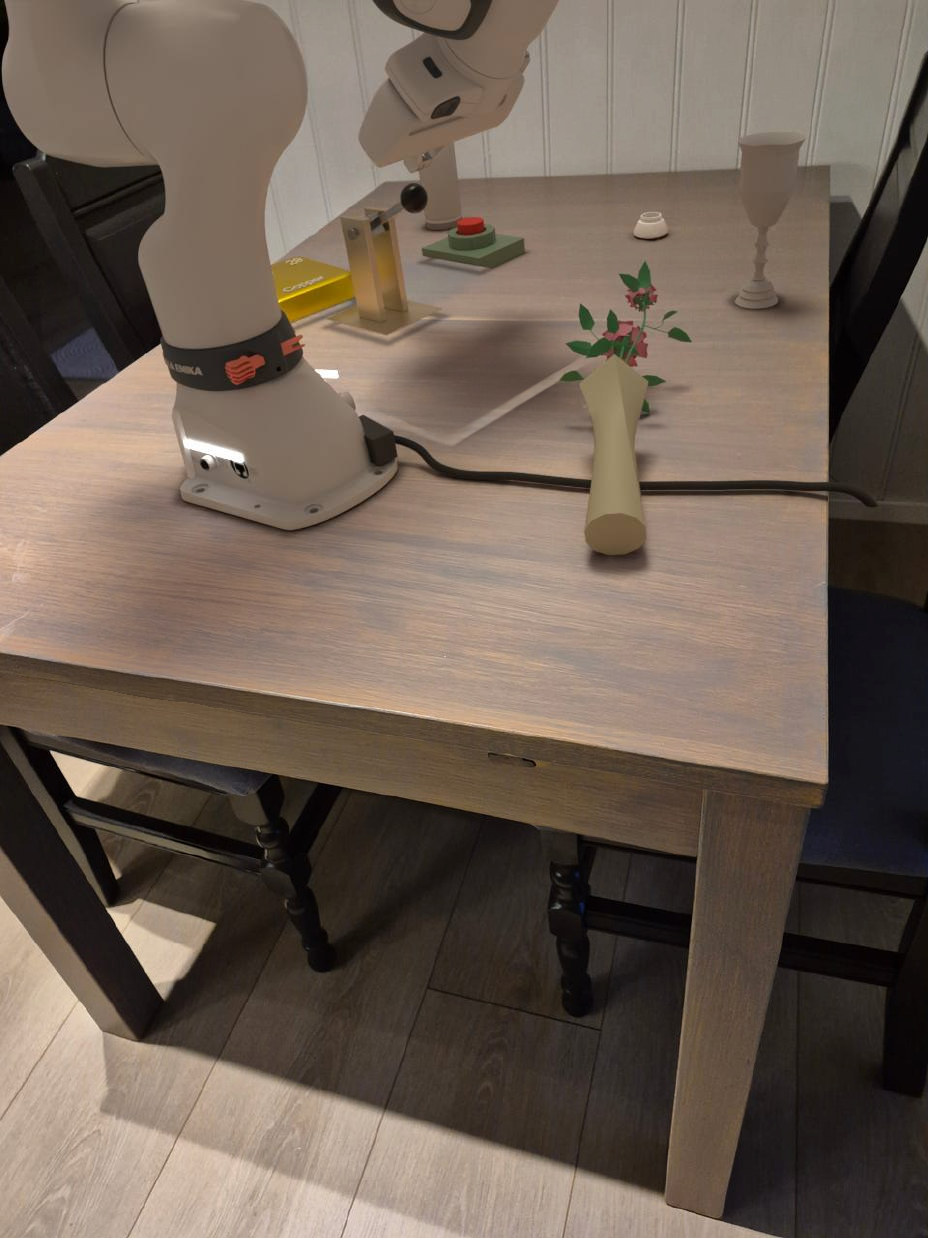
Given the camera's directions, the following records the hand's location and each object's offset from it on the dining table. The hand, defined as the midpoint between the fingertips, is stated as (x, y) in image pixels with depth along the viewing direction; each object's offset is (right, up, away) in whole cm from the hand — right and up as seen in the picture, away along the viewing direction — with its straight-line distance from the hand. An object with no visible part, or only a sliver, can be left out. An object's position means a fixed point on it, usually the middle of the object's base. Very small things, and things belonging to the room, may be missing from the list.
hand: (416, 165), depth 100 cm
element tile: (-19, -7, +27) cm, 34 cm away
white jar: (+34, +7, +34) cm, 48 cm away
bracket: (-5, -12, +18) cm, 22 cm away
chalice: (+41, -12, +9) cm, 44 cm away
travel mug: (+2, +16, +51) cm, 53 cm away
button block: (+7, +4, +35) cm, 36 cm away
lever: (-3, -4, +7) cm, 9 cm away
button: (+6, +7, +33) cm, 34 cm away
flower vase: (+20, -36, -16) cm, 44 cm away
